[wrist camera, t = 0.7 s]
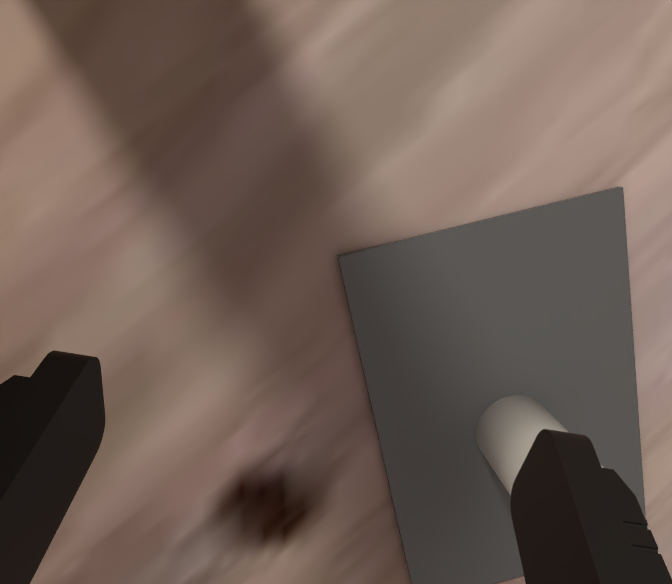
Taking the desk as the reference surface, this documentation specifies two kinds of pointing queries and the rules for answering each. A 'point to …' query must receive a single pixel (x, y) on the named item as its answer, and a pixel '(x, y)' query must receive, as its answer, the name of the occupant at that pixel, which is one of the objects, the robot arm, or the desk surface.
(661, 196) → the desk surface
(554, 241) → the desk mat
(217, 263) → the desk surface
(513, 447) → the white domed bottle
